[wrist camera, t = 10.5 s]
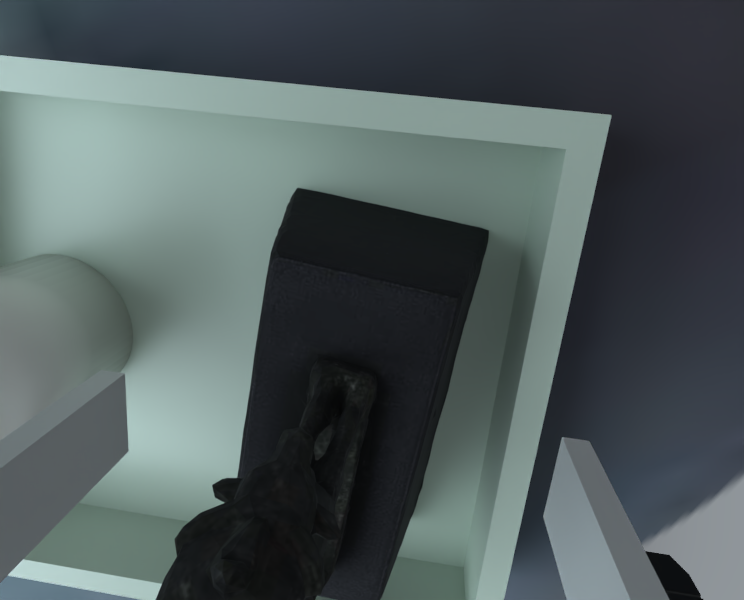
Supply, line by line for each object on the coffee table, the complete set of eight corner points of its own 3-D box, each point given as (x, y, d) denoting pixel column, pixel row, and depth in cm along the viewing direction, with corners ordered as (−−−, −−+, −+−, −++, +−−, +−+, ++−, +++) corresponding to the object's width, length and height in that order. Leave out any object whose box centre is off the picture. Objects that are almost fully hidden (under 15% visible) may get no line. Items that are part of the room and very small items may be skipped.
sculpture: (506, 234, 19) (713, 517, 5) (409, 526, 23) (366, 1140, 9) (296, 177, 19) (-90, 291, 5) (236, 476, 24) (-69, 996, 9)
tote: (-60, 57, 21) (-190, 36, 16) (571, 119, 19) (611, 114, 14) (-2, 491, 27) (-85, 558, 22) (480, 571, 25) (489, 662, 20)
